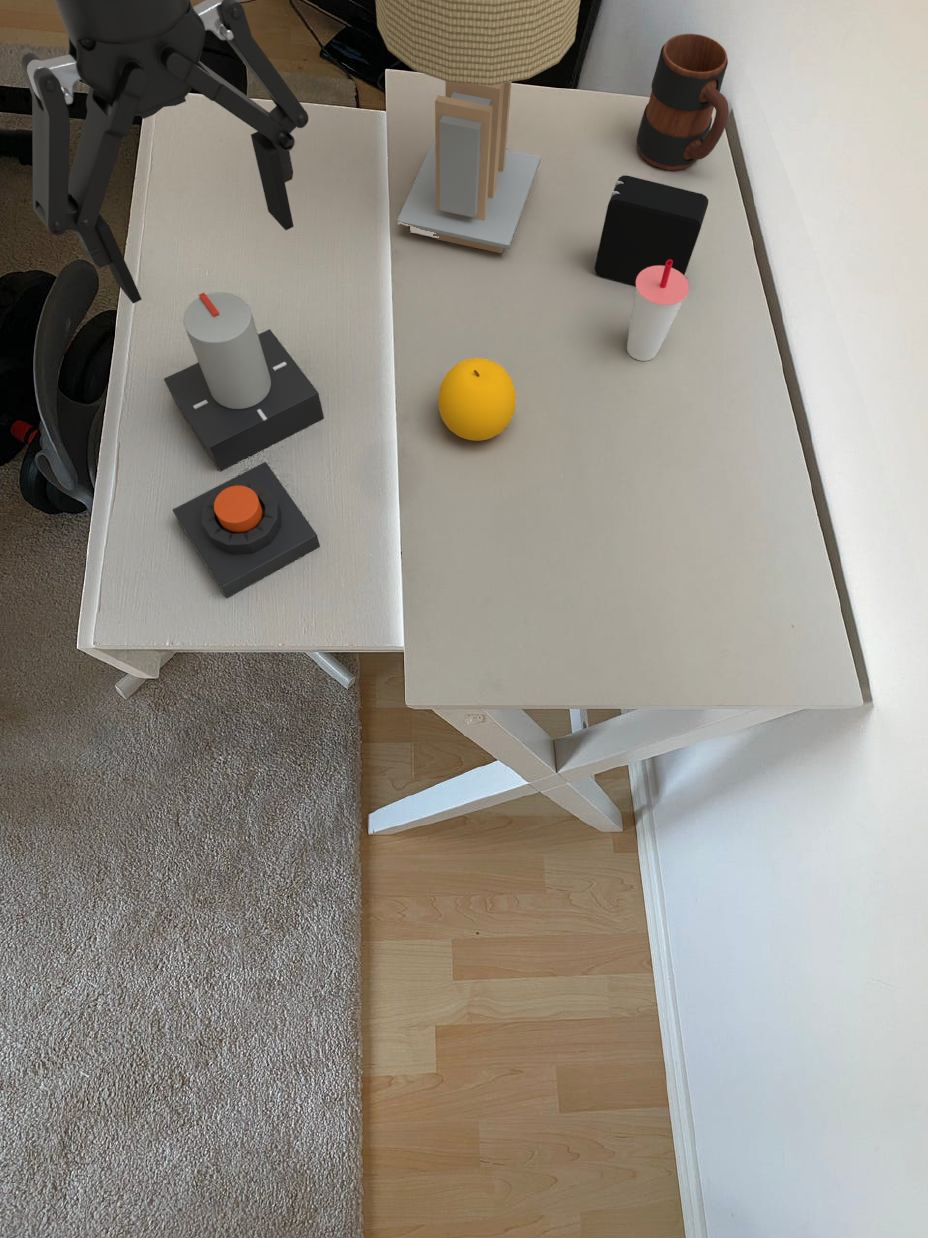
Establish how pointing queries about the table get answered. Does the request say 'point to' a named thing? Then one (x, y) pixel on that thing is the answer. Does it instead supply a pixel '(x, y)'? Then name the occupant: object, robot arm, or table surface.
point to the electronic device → (648, 228)
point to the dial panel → (253, 427)
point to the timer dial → (228, 349)
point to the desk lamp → (475, 106)
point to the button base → (248, 532)
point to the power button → (238, 509)
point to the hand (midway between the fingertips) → (207, 254)
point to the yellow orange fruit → (477, 399)
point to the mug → (684, 103)
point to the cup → (654, 309)
